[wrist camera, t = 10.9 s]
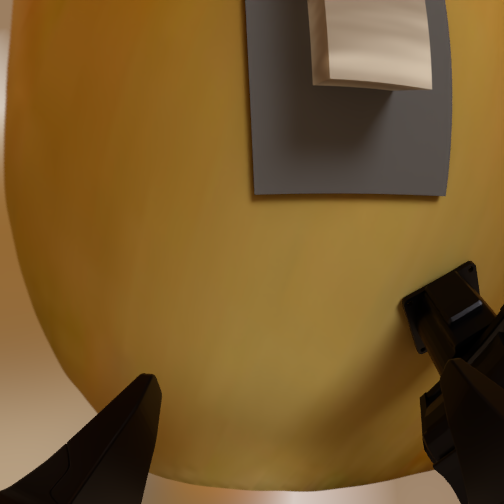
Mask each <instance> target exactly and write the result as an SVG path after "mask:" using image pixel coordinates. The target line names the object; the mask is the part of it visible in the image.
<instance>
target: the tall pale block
mask: <svg viewBox="0 0 504 504" xmlns="http://www.w3.org/2000/svg"><path fill="white" fill-rule="evenodd" d="M307 3H308V15H309V28H310V42H311V59H312V79H313V85H320V86H344V87H359V88H371V89H382V90H391V91H399V90H432V71H431V53H430V40H429V30H428V20H427V12H426V5H425V0H307Z"/></svg>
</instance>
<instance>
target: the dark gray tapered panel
mask: <svg viewBox="0 0 504 504" xmlns="http://www.w3.org/2000/svg"><path fill="white" fill-rule="evenodd" d="M425 5H426V12H427V20H428V30H429V40H430V53H431V71H432V90H399V91H391V90H382V89H371V88H359V87H344V86H320V85H313V79H312V59H311V42H310V28H309V15H308V3H307V0H245V6H246V25H247V45H248V65H249V85H250V106H251V128H252V149H253V171H254V194H255V195H259V194H307V193H358V194H405V195H431V196H446V189H447V180H448V171H449V160H450V147H451V128H452V68H451V51H450V38H449V28H448V20H447V12H446V5H445V0H425Z"/></svg>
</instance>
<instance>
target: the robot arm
mask: <svg viewBox="0 0 504 504" xmlns="http://www.w3.org/2000/svg"><path fill="white" fill-rule="evenodd" d="M469 268H470V269H469ZM468 269H469V270H468ZM409 301H411V302H410V303H409V304H407V303H408V302H409ZM402 305H403V308H404V311H405V314H406V317H407V320H408V323H409V326H410V330H411V333H412V336H413V339H414V343H415V346H416V349H417V351H418V353H419V354H423V353H425V352H427V351H428V353H429V355H430V357H431V359H432V361H433V363H434V365H435V366H436V368H437V370H438V372H439V375H440V380H439V381H438V382H437V383H436V384H435V385H434V386H433V387H432V388H431V389H430V390H429V391H428V392H427V393H424V394H423V395H422V396H421V397H420V407H421V420H422V436H423V445H424V450H425V452H426V453H427V455H428V457H429V458H430V460H431V461H432V462H433V463H434V464H433V468H434V469H435V470H436V471H437V472H438V473H440V474H441V475H442V476H443V477H444V478H445V479H446V480H447V482H448V483H449V484H450V485H451V487H452V488H453V490H454V492H455V493H456V495H457V497H458V499H459V501H460V503H461V504H504V305H503V306H502V307H501V309H500V310H501V311H500V312H499V313H498V315H496V314H495V313H494V311H493V310H492V309H491V308H490V307H489V305H488V304H487V303H486V302H485V301H484V300H483V298H482V297H481V296H480V293H479V285H478V277H477V270H476V265H475V264H474V263H473V262H472V261H468V262H466V263H464V264H463V265H461V266H459V267H458V268H456V269H454V270H453V271H451V272H449V273H447V274H446V275H444V276H442V277H440V278H439V279H437V280H435V281H433V282H432V283H430V284H428V285H426V286H424V287H422V288H421V289H419V290H417V291H415V292H413V293H411V294H409V295H408V296H406V297H404V299H403V300H402ZM161 400H162V393H161V389H160V387H159V384H158V381H157V378H156V376H155V375H153V374H145V373H143V374H140V375H139V376H138V377H137V378H136V379H135V380H134V381H133V382H132V383H130V384H129V385H128V386H127V387H126V388H125V389H124V390H123V391H122V392H121V393H120V394H119V395H118V396H117V397H116V398H114V399H113V400H112V401H111V402H110V403H109V404H108V405H107V406H106V407H105V408H104V409H103V410H102V411H100V412H99V413H98V414H97V415H96V416H95V417H94V418H93V419H92V420H91V421H90V422H89V423H88V424H86V426H84V427H83V428H82V429H81V430H80V431H79V432H78V433H77V434H76V435H75V436H73V437H72V438H71V439H70V440H69V441H68V442H67V444H65V445H64V446H62V447H61V448H60V449H59V450H58V451H57V452H56V453H55V454H53V455H52V456H51V457H50V458H49V459H48V460H47V461H45V462H44V463H43V464H41V465H40V466H39V467H37V468H36V469H35V470H33V471H32V472H30V473H29V474H27V475H26V476H25V477H24V478H22V479H20V480H19V481H18V482H16V483H15V484H13V485H12V486H10V487H8V488H6V489H4V490H1V491H0V504H141V502H142V497H143V493H144V489H145V485H146V480H147V476H148V472H149V468H150V464H151V460H152V456H153V452H154V448H155V443H156V438H157V431H158V423H159V415H160V407H161Z"/></svg>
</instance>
